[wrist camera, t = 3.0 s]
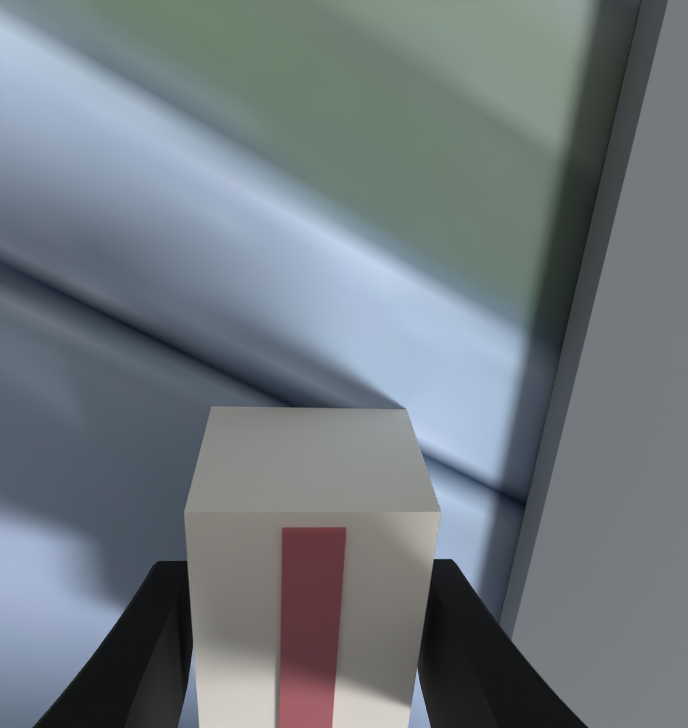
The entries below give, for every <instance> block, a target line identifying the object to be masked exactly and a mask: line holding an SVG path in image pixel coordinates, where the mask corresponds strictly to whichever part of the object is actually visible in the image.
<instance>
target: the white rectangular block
mask: <svg viewBox="0 0 688 728" xmlns="http://www.w3.org/2000/svg"><path fill="white" fill-rule="evenodd" d="M440 515H441V510H440V507H439V504H438V501H437V498H436V495H435V492H434V489H433V486H432V483H431V480H430V477H429V474H428V471H427V468H426V465H425V462H424V459H423V456H422V453H421V450H420V447H419V444H418V441H417V438H416V435H415V433H414V430H413V427H412V424H411V421H410V418H409V415H408V412H407V409H359V408H290V407H222V406H211V410H210V413H209V417H208V421H207V425H206V429H205V433H204V437H203V441H202V444H201V448H200V452H199V456H198V460H197V464H196V468H195V472H194V475H193V479H192V483H191V487H190V491H189V495H188V499H187V503H186V506H185V510H184V520H185V534H186V548H187V562H188V576H189V590H190V604H191V618H192V632H193V646H194V660H195V674H196V688H197V702H198V716H199V728H408V723H409V717H410V710H411V704H412V697H413V691H414V684H415V678H416V671H417V665H418V658H419V652H420V645H421V639H422V632H423V626H424V619H425V613H426V606H427V600H428V593H429V587H430V580H431V574H432V567H433V561H434V554H435V548H436V541H437V535H438V528H439V522H440Z"/></svg>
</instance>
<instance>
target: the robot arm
mask: <svg viewBox="0 0 688 728" xmlns="http://www.w3.org/2000/svg"><path fill="white" fill-rule="evenodd" d="M192 649H193V632H192V618H191V604H190V590H189V576H188V562H187V561H158V562H157V563H156V564H154V565H153V566H152V568H151V570H150V572H149V573H148V575H147V577H146V578H145V580H144V582H143V583H142V585H141V587H140V588H139V590H138V591H137V593H136V594H135V596H134V597H133V599H132V601H131V602H130V604H129V605H128V607H127V608H126V609H125V611H124V612H123V614H122V615H121V617H120V618H119V620H118V621H117V623H116V624H115V625H114V627H113V628H112V630H111V631H110V632H109V634H108V635H107V636H106V638H105V639H104V641H103V642H102V643H101V645H100V646H99V648H98V649H97V650H96V652H95V653H94V654H93V656H92V657H91V658H90V659H89V661H88V662H87V663H86V664H85V666H84V667H83V668H82V669H81V671H80V672H79V673H78V674H77V676H76V677H75V678H74V679H73V681H72V682H71V683H70V684H69V686H68V687H67V688H66V689H65V691H64V692H63V693H62V694H61V696H60V697H59V698H58V699H57V700H56V701H55V703H54V704H53V705H52V706H51V707H50V708H49V710H48V711H47V712H46V713H45V714H44V715H43V716H42V718H41V719H40V720H39V721H38V722H37V723H36V724H35V725H34V726H33V728H177V727H178V723H179V719H180V715H181V711H182V707H183V703H184V698H185V694H186V690H187V685H188V678H189V671H190V664H191V657H192ZM417 667H418V674H419V680H420V685H421V689H422V693H423V697H424V701H425V705H426V709H427V713H428V717H429V721H430V725H431V728H588V727H587V726H586V725H585V724H584V723H583V722H582V721H581V720H580V719H579V718H578V717H577V715H576V714H575V713H574V712H573V711H572V710H571V709H570V708H569V707H568V706H567V705H566V704H565V703H564V702H563V701H562V700H561V699H560V698H559V696H558V695H557V694H556V693H555V692H554V691H553V690H552V689H551V688H550V686H549V685H548V684H547V683H546V682H545V681H544V680H543V678H542V677H541V676H540V675H539V674H538V673H537V671H536V670H535V669H534V668H533V667H532V666H531V664H530V663H529V662H528V661H527V660H526V658H525V657H524V656H523V655H522V653H521V652H520V651H519V650H518V648H517V647H516V646H515V645H514V643H513V642H512V641H511V639H510V638H509V637H508V636H507V634H506V633H505V632H504V630H503V629H502V628H501V627H500V625H499V624H498V623H497V621H496V620H495V619H494V617H493V616H492V615H491V613H490V612H489V610H488V609H487V608H486V606H485V605H484V604H483V602H482V601H481V599H480V598H479V597H478V595H477V594H476V592H475V591H474V589H473V588H472V586H471V585H470V584H469V582H468V581H467V579H466V578H465V576H464V575H463V573H462V572H461V570H460V569H459V567H458V566H457V564H456V563H455V562H454V561H453V560H452V559H434V561H433V567H432V574H431V580H430V587H429V593H428V600H427V606H426V613H425V619H424V626H423V632H422V639H421V645H420V652H419V658H418V665H417Z"/></svg>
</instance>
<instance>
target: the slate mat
mask: <svg viewBox="0 0 688 728" xmlns="http://www.w3.org/2000/svg"><path fill="white" fill-rule="evenodd" d="M499 625H500V627H501V628H502V629H503V630H504V632H505V633H506V634H507V636H508V637H509V638H510V639H511V641H512V642H513V643H514V645H515V646H516V647H517V648H518V650H519V651H520V652H521V653H522V655H523V656H524V657H525V658H526V660H527V661H528V662H529V663H530V664H531V666H532V667H533V668H534V669H535V670H536V671H537V673H538V674H539V675H540V676H541V677H542V678H543V680H544V681H545V682H546V683H547V684H548V685H549V686H550V688H551V689H552V690H553V691H554V692H555V693H556V694H557V695H558V696H559V698H560V699H561V700H562V701H563V702H564V703H565V704H566V705H567V706H568V707H569V708H570V709H571V710H572V711H573V712H574V713H575V714H576V715H577V717H578V718H579V719H580V720H581V721H582V722H583V723H584V724H585V725H586V726H587V727H588V728H688V0H642V1H641V5H640V9H639V14H638V18H637V23H636V27H635V31H634V36H633V40H632V44H631V49H630V53H629V58H628V62H627V66H626V71H625V75H624V79H623V84H622V88H621V93H620V97H619V101H618V106H617V110H616V114H615V119H614V123H613V128H612V132H611V136H610V141H609V145H608V149H607V154H606V158H605V163H604V167H603V171H602V176H601V180H600V184H599V189H598V193H597V198H596V202H595V206H594V211H593V215H592V219H591V224H590V228H589V233H588V237H587V241H586V246H585V250H584V254H583V259H582V263H581V268H580V272H579V276H578V281H577V285H576V289H575V294H574V298H573V302H572V307H571V311H570V316H569V320H568V324H567V329H566V333H565V337H564V342H563V346H562V351H561V355H560V359H559V364H558V368H557V372H556V377H555V381H554V386H553V390H552V394H551V399H550V403H549V407H548V412H547V416H546V421H545V425H544V429H543V434H542V438H541V442H540V447H539V451H538V456H537V460H536V464H535V469H534V473H533V477H532V482H531V486H530V491H529V495H528V499H527V504H526V508H525V512H524V517H523V521H522V526H521V530H520V534H519V539H518V543H517V547H516V552H515V556H514V561H513V565H512V569H511V574H510V578H509V582H508V587H507V591H506V596H505V600H504V604H503V609H502V613H501V617H500V622H499Z"/></svg>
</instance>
